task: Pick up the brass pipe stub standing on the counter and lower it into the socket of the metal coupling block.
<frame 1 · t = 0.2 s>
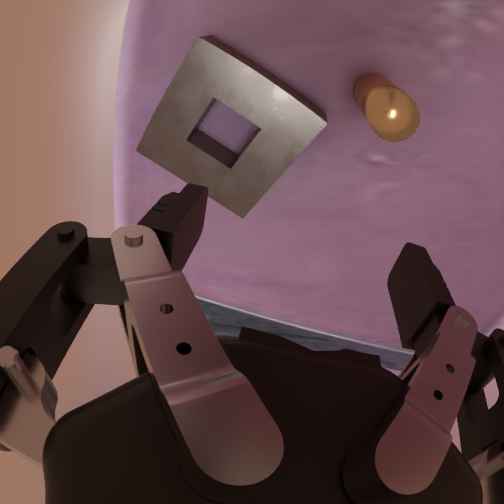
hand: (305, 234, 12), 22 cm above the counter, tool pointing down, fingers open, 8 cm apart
coupling block: (230, 123, 31), on the counter
pipe stub: (372, 92, 26), on the counter
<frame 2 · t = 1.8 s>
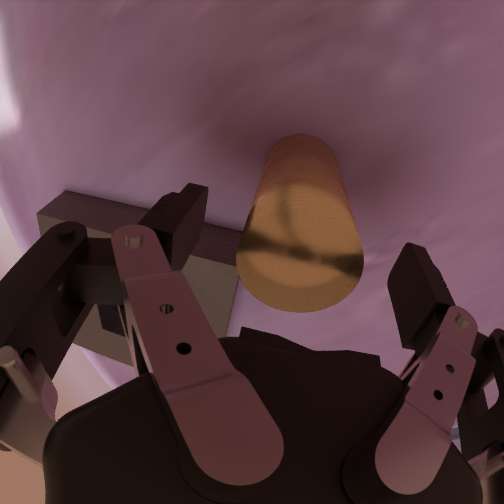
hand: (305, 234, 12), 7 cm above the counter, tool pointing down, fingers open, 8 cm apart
coupling block: (146, 286, 24), on the counter
pipe stub: (301, 168, 17), on the counter
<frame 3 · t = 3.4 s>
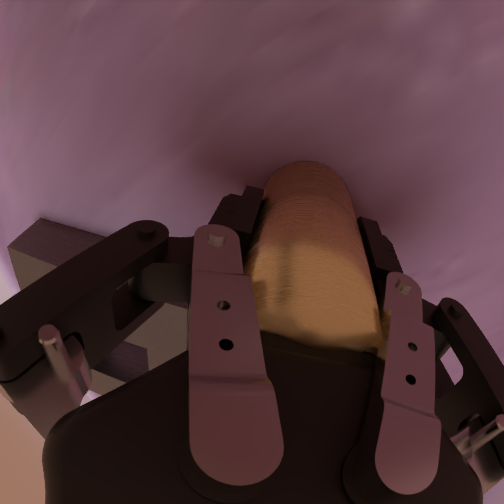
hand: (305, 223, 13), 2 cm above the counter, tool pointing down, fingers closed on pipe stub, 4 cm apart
coupling block: (132, 322, 21), on the counter
pipe stub: (306, 202, 14), on the counter, touching gripper
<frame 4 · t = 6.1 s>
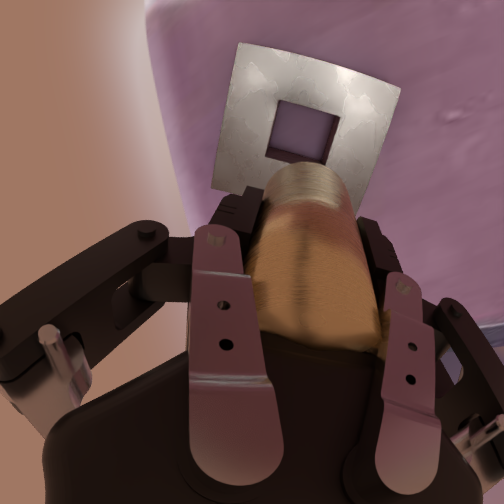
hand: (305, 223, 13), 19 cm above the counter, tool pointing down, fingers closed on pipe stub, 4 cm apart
coupling block: (302, 128, 28), on the counter
pipe stub: (306, 203, 14), point 17 cm above the counter, touching gripper
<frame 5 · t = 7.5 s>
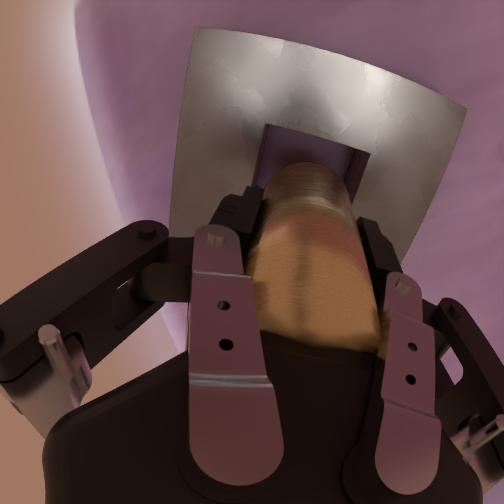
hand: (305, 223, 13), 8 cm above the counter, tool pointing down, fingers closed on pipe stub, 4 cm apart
coupling block: (304, 165, 19), on the counter
pipe stub: (306, 203, 14), point 5 cm above the counter, touching gripper
when the fingers open (5 cm above the counter, at t = 8.9 s): pipe stub drops 3 cm, resting in coupling block.
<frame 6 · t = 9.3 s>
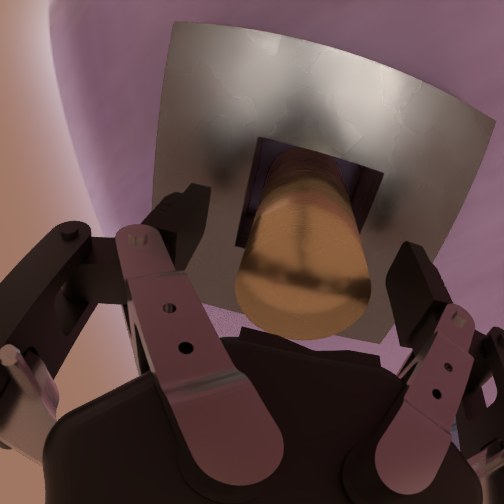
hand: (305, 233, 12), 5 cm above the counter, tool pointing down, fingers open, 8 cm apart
coupling block: (305, 182, 16), on the counter
pipe stub: (305, 182, 16), resting in coupling block
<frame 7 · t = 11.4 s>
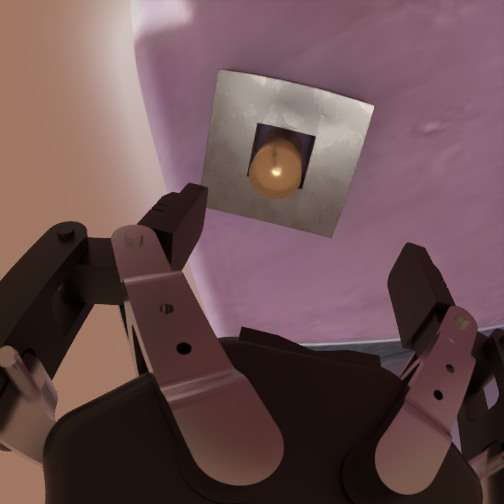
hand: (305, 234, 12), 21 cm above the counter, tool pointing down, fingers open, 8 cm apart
coupling block: (283, 147, 31), on the counter
pipe stub: (282, 147, 31), resting in coupling block
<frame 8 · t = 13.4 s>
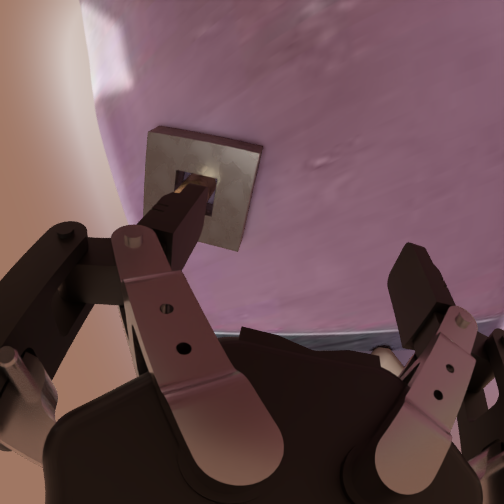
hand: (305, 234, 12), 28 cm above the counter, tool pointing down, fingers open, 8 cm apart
coupling block: (201, 183, 42), on the counter
tube: (398, 372, 59), on the counter
pipe stub: (201, 183, 42), resting in coupling block
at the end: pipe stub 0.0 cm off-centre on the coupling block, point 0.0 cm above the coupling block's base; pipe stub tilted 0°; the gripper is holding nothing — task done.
